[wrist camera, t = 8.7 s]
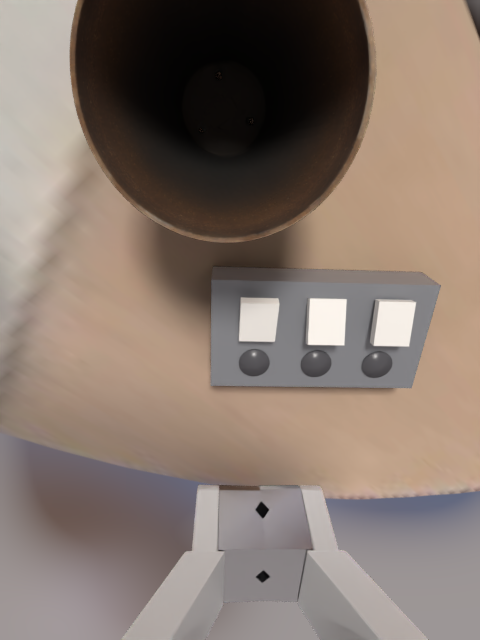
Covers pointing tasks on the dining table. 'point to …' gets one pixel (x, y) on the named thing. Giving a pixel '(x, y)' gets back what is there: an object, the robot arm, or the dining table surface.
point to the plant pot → (223, 106)
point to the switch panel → (290, 341)
